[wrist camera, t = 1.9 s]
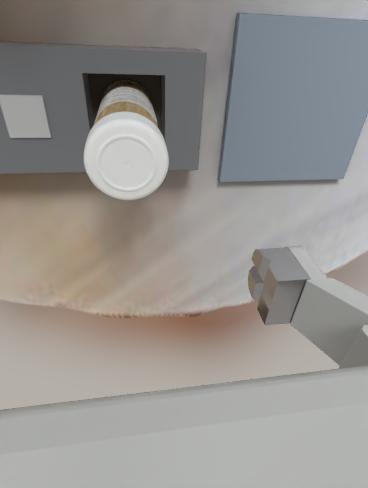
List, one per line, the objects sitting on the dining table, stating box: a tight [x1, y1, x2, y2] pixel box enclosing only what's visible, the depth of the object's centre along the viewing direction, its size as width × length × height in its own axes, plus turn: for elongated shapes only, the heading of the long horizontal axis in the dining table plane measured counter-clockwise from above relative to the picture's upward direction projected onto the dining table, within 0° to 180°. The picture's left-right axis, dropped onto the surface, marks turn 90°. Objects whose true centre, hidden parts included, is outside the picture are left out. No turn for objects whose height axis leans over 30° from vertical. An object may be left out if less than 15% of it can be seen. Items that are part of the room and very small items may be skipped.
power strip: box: [0, 42, 206, 174], centre depth 24 cm, size 9×24×4 cm, turn 88°
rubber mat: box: [218, 13, 368, 182], centre depth 29 cm, size 14×14×1 cm
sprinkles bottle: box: [84, 80, 169, 200], centre depth 22 cm, size 5×5×13 cm
